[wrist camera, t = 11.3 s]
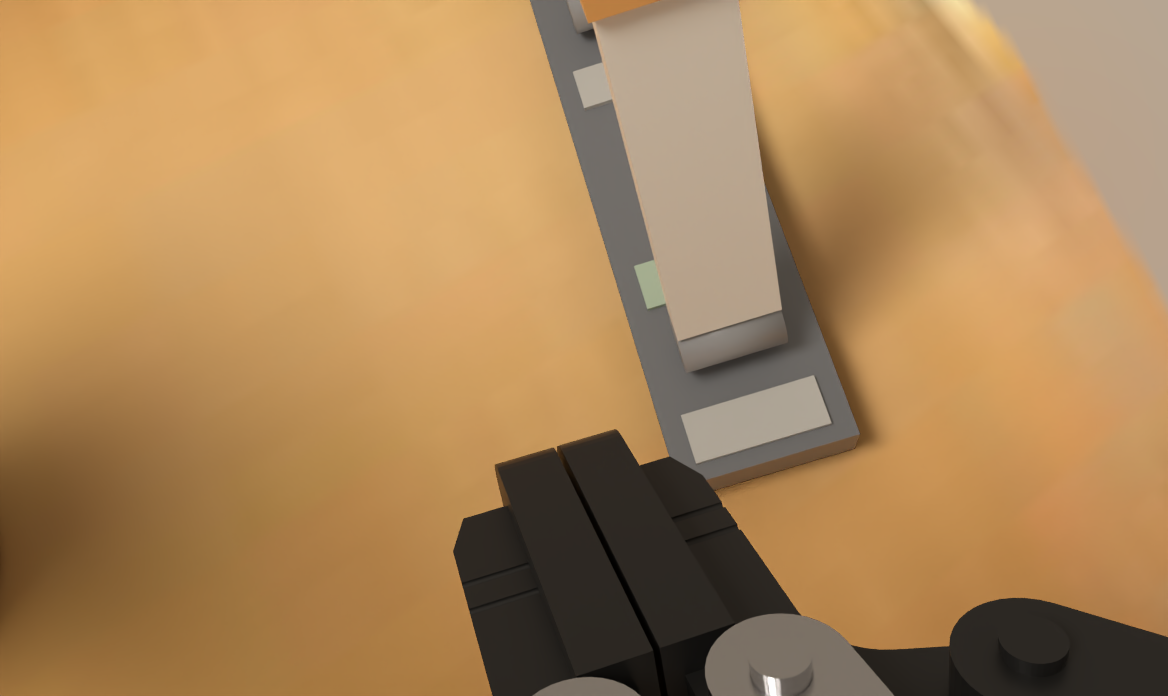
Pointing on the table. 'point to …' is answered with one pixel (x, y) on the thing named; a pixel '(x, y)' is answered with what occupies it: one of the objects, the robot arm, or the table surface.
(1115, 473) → the table surface
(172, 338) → the table surface
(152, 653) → the table surface
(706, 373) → the switch panel
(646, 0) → the orange switch
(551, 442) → the table surface
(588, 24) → the grey switch
